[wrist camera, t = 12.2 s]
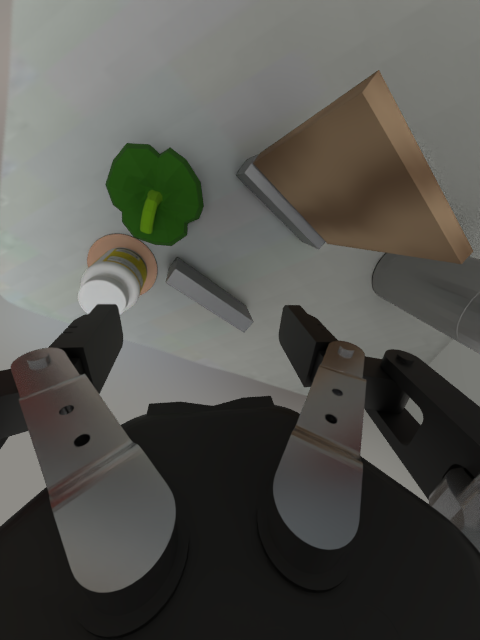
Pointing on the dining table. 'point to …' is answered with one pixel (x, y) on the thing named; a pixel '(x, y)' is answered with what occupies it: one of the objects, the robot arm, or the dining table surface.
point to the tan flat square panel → (365, 179)
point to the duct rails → (212, 294)
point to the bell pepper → (154, 193)
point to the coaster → (130, 243)
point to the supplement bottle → (113, 280)
